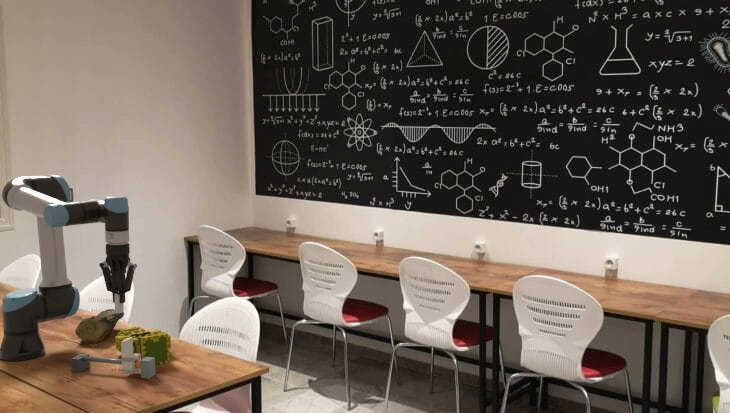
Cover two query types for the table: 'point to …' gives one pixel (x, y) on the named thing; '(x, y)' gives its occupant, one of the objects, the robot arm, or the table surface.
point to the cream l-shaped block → (129, 356)
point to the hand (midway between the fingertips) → (119, 312)
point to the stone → (98, 326)
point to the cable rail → (84, 360)
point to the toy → (147, 343)
